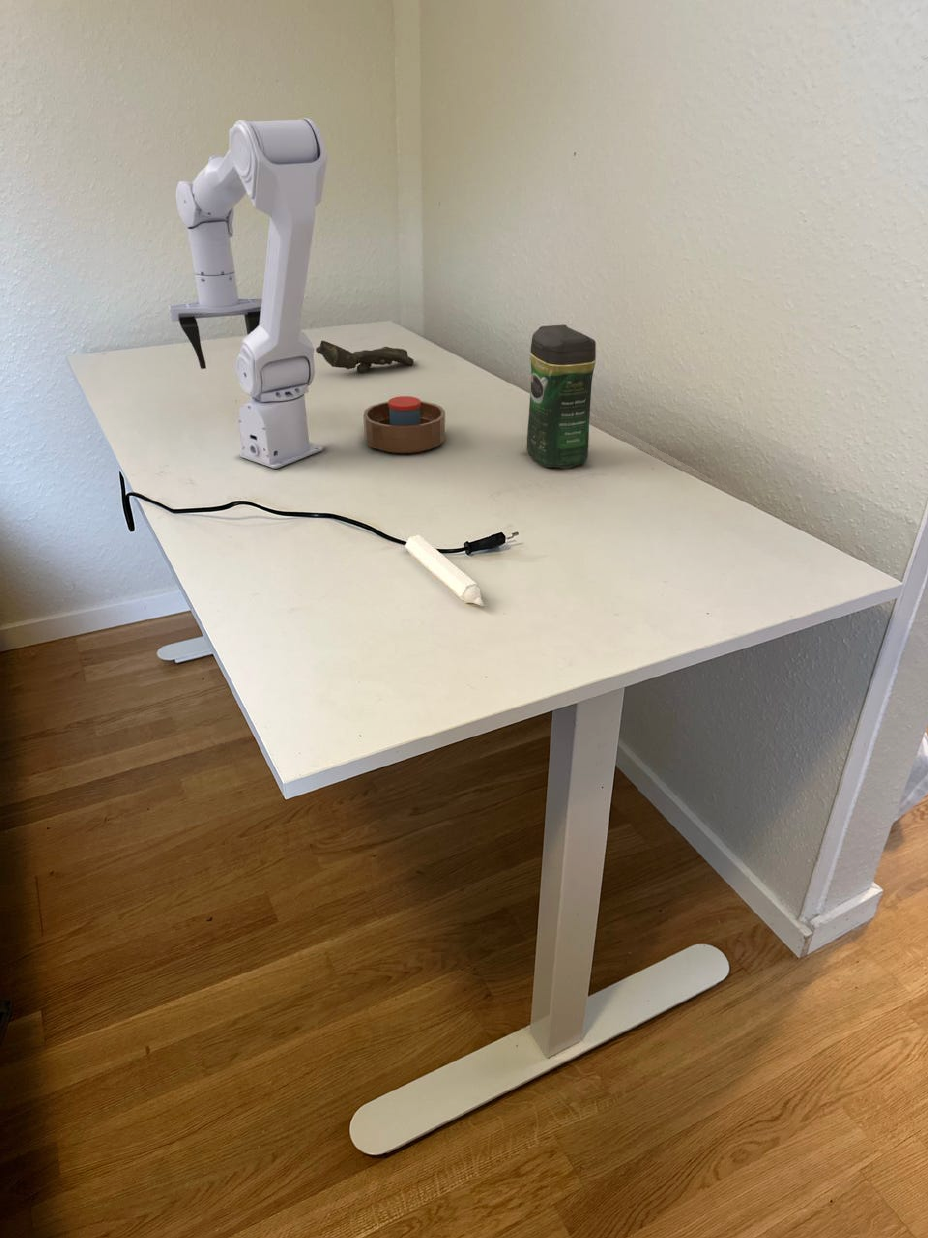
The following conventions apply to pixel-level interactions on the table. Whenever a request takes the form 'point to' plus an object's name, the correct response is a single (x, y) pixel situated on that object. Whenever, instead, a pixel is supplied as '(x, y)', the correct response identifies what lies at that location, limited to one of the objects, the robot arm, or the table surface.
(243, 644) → the table surface
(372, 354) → the brown long irregular piece
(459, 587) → the marker
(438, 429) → the bowl
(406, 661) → the table surface
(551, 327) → the coffee jar
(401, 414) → the container
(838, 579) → the table surface
